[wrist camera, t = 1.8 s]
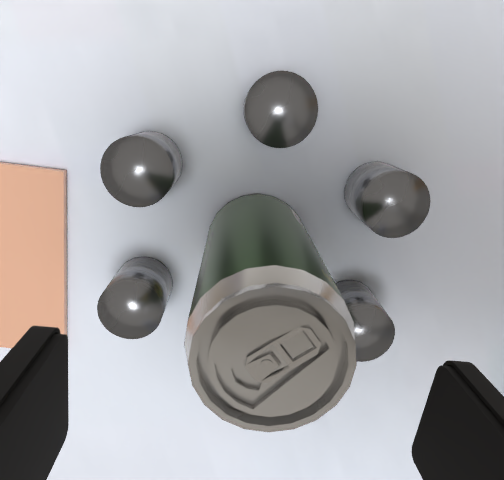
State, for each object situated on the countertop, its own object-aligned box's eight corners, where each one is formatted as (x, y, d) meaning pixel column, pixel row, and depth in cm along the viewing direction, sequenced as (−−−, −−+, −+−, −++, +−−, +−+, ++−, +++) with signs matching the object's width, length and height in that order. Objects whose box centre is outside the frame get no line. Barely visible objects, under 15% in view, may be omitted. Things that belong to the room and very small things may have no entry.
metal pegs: (425, 98, 21) (460, 96, 18) (355, 378, 26) (372, 417, 23) (125, 53, 20) (103, 43, 17) (114, 355, 25) (95, 392, 22)
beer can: (269, 172, 22) (302, 241, 11) (320, 249, 24) (397, 382, 12) (189, 226, 23) (141, 344, 12) (243, 297, 25) (248, 464, 13)
